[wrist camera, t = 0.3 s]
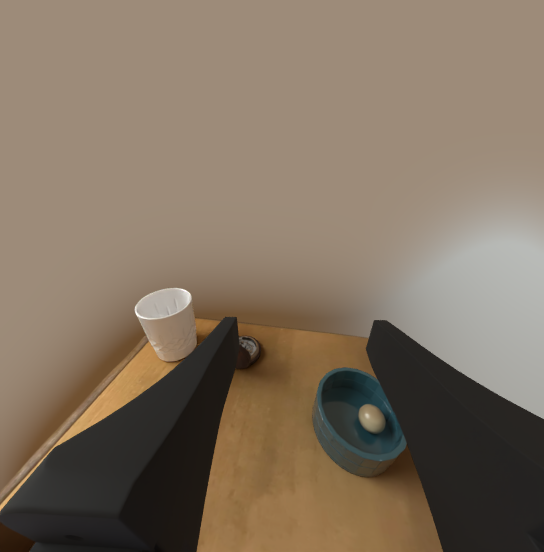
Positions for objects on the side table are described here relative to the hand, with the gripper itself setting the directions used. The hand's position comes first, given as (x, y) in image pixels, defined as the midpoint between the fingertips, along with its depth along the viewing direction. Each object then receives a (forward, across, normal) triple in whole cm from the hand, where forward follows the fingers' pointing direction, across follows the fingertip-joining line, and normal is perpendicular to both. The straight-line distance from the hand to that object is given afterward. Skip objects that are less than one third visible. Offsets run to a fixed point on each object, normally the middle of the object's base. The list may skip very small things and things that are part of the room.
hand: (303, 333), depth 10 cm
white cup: (+17, +20, +20) cm, 33 cm away
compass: (+16, +9, +20) cm, 27 cm away
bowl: (+7, -8, +21) cm, 24 cm away
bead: (+6, -10, +21) cm, 24 cm away
